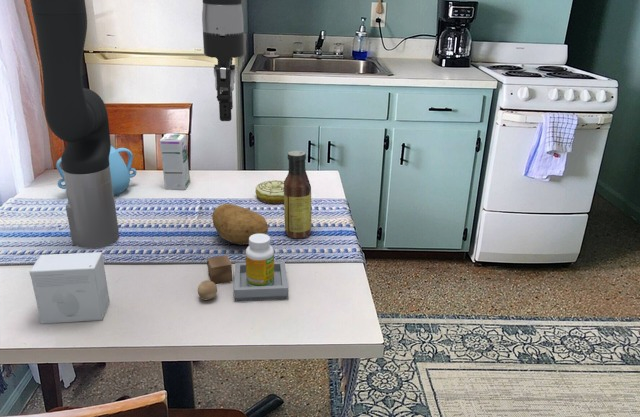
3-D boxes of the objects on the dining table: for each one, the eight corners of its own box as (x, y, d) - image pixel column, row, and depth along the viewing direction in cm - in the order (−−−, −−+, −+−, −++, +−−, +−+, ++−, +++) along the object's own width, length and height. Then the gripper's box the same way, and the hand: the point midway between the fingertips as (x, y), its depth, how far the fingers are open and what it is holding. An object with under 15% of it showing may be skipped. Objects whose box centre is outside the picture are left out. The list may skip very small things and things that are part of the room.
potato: (250, 259, 116) (250, 225, 113) (203, 240, 123) (201, 208, 120) (279, 242, 124) (279, 210, 121) (232, 225, 131) (231, 194, 128)
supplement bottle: (269, 291, 104) (269, 246, 100) (242, 287, 105) (241, 242, 101) (277, 276, 109) (277, 233, 105) (251, 273, 110) (250, 230, 106)
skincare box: (110, 300, 101) (102, 250, 97) (103, 320, 95) (94, 269, 91) (50, 303, 100) (40, 252, 95) (39, 324, 94) (27, 271, 90)
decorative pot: (105, 208, 138) (98, 157, 132) (53, 198, 142) (44, 148, 137) (143, 186, 152) (139, 139, 146) (95, 177, 156) (89, 131, 151)
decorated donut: (303, 200, 146) (303, 187, 145) (267, 208, 141) (267, 195, 139) (283, 187, 154) (283, 175, 153) (249, 194, 149) (249, 182, 147)
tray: (234, 301, 102) (234, 290, 101) (235, 273, 111) (235, 262, 110) (288, 299, 103) (288, 288, 102) (284, 271, 112) (284, 261, 111)
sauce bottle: (316, 234, 128) (319, 153, 120) (297, 242, 124) (299, 159, 116) (297, 225, 132) (298, 146, 124) (278, 233, 128) (277, 152, 120)
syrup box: (185, 190, 150) (181, 139, 144) (164, 189, 150) (159, 138, 144) (190, 182, 155) (186, 133, 149) (169, 182, 155) (165, 132, 149)
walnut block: (212, 285, 107) (211, 267, 105) (208, 275, 110) (207, 258, 109) (232, 281, 108) (231, 264, 107) (227, 272, 112) (227, 254, 110)
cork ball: (197, 304, 101) (196, 287, 99) (198, 293, 104) (197, 277, 103) (217, 303, 101) (216, 286, 100) (218, 292, 104) (217, 276, 103)
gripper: (205, 24, 108) (209, 106, 114) (199, 34, 95) (204, 124, 101) (243, 25, 108) (245, 106, 115) (243, 34, 96) (245, 124, 102)
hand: (226, 114), depth 108 cm, fingers open, 8 cm apart
